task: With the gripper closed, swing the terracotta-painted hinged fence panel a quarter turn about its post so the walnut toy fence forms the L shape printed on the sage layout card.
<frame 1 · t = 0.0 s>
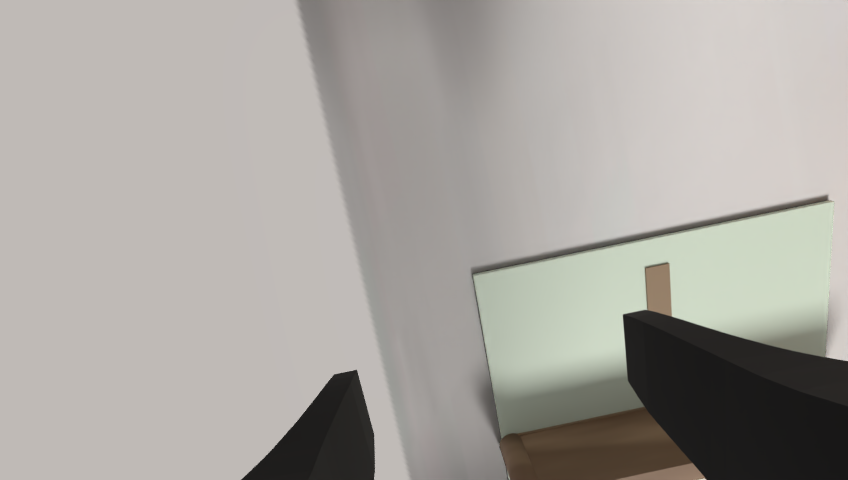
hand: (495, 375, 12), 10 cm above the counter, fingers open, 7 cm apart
layout card: (658, 361, 24), on the counter
fence fixed: (661, 408, 25), resting on layout card
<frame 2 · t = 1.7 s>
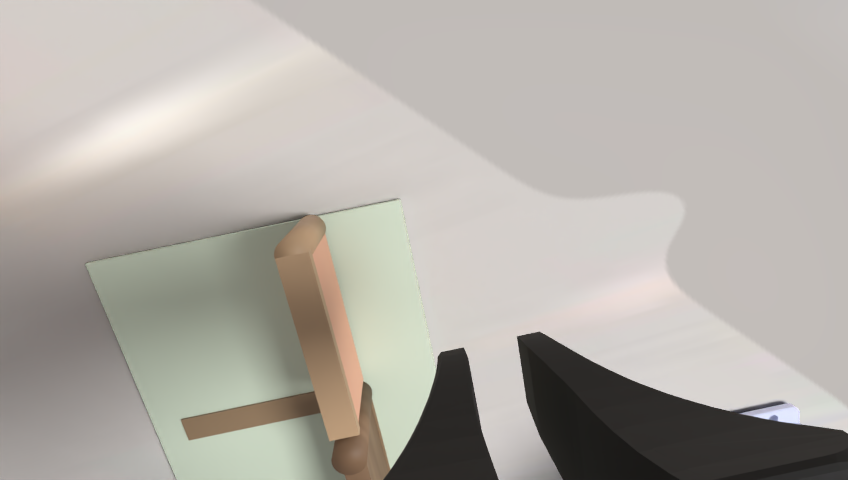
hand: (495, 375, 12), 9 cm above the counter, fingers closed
hinged panel: (325, 321, 18), point 3 cm above the counter, hinge at 0.0°
layout card: (299, 401, 22), on the counter
fence fixed: (358, 389, 22), resting on layout card
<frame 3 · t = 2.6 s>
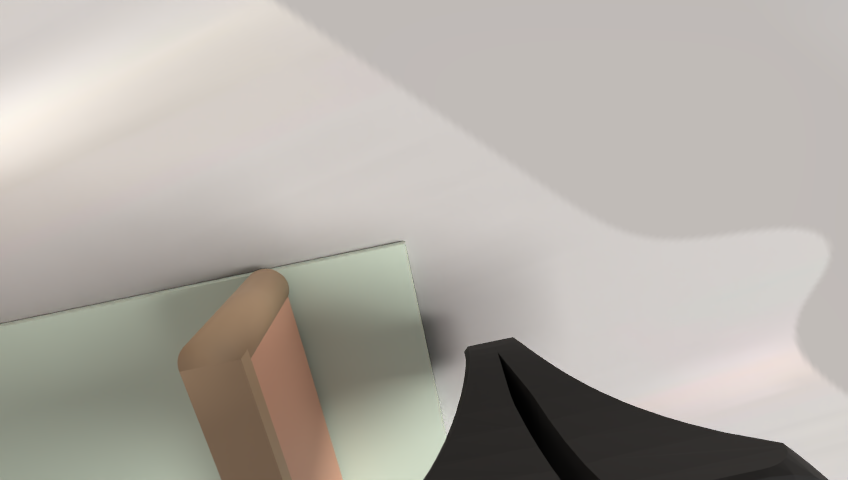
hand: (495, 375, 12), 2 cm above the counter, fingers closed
hinged panel: (285, 444, 11), point 3 cm above the counter, hinge at 0.0°
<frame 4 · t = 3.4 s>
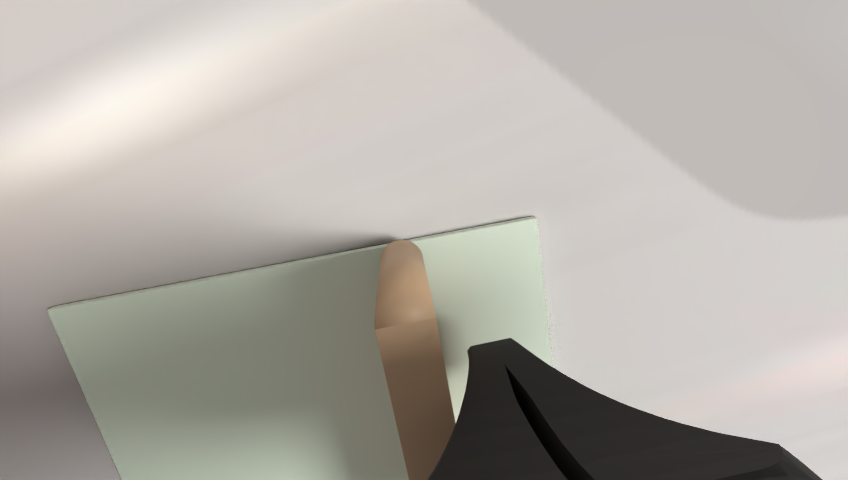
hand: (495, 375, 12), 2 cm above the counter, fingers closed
hinged panel: (428, 413, 11), point 3 cm above the counter, hinge at 0.0°, touching gripper
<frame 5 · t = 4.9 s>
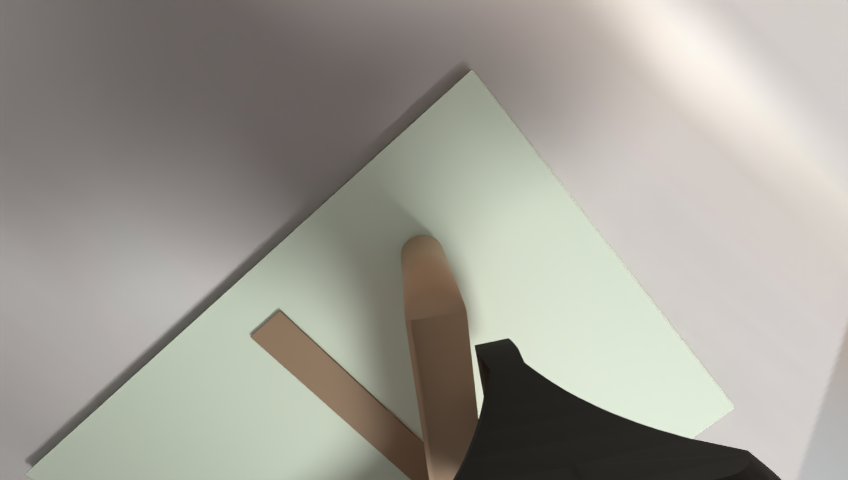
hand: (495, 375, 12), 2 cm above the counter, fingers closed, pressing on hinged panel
hinged panel: (445, 408, 11), point 3 cm above the counter, hinge at 56.3°, touching gripper
layout card: (394, 433, 15), on the counter
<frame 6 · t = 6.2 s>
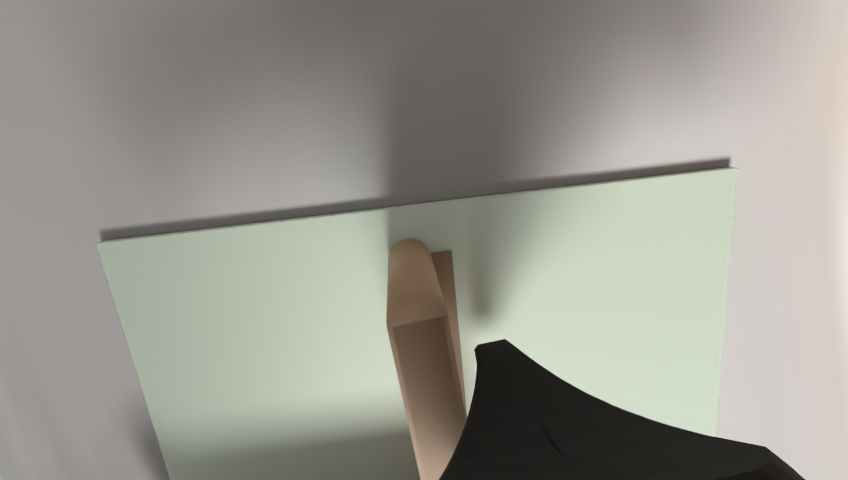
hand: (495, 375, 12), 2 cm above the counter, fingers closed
hinged panel: (438, 411, 11), point 3 cm above the counter, hinge at 94.1°, touching gripper
layout card: (447, 413, 15), on the counter
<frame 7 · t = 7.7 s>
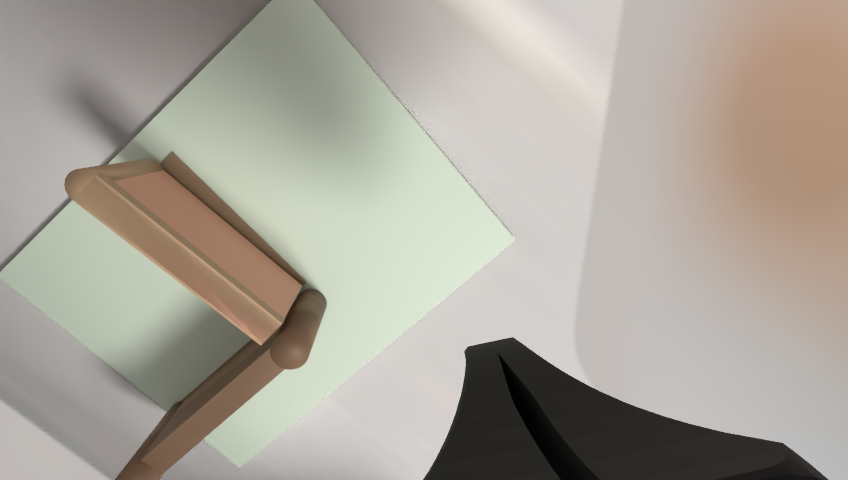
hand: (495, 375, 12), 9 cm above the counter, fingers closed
hinged panel: (200, 243, 17), point 3 cm above the counter, hinge at 94.3°
layout card: (265, 255, 20), on the counter
fence fixed: (312, 300, 21), resting on layout card
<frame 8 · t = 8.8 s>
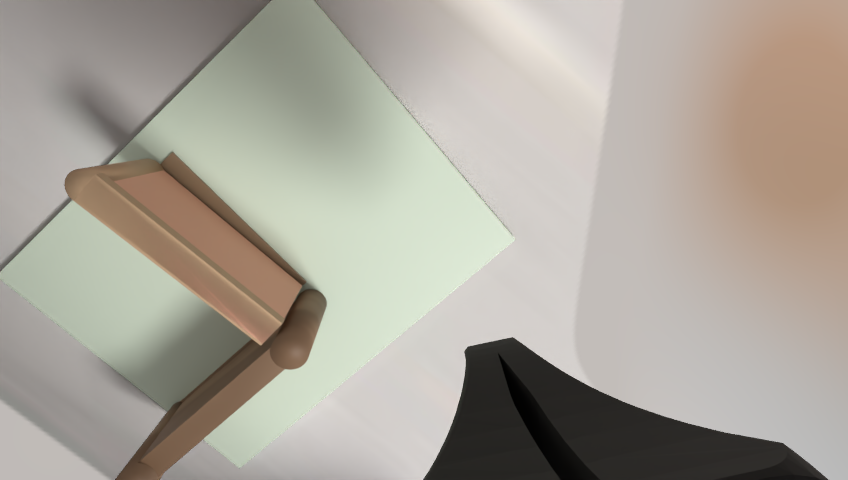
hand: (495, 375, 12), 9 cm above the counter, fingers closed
hinged panel: (200, 243, 17), point 3 cm above the counter, hinge at 94.3°
layout card: (265, 255, 20), on the counter
fence fixed: (312, 300, 21), resting on layout card
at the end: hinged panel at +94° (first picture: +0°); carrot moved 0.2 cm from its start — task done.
